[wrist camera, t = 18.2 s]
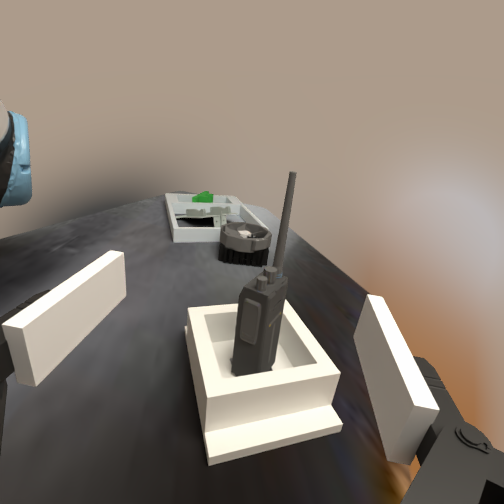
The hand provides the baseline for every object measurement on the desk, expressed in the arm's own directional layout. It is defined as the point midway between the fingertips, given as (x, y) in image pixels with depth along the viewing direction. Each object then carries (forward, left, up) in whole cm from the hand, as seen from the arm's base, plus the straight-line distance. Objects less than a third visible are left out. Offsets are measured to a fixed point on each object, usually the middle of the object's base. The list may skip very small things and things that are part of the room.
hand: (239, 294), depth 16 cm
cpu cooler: (-39, +13, -16) cm, 44 cm away
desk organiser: (-61, +11, -16) cm, 64 cm away
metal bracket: (-60, +10, -17) cm, 63 cm away
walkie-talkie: (-9, +5, -15) cm, 18 cm away
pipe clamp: (-71, +11, -16) cm, 73 cm away
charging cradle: (-9, +5, -16) cm, 19 cm away
